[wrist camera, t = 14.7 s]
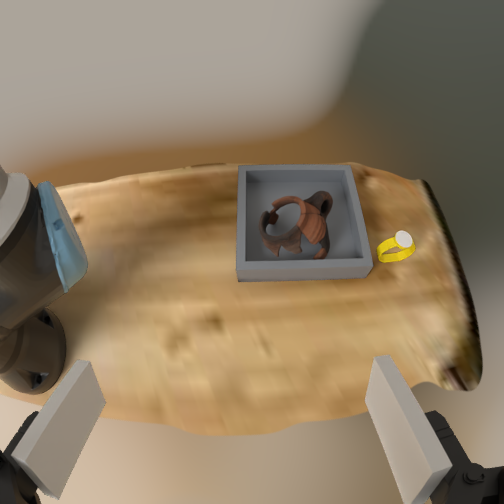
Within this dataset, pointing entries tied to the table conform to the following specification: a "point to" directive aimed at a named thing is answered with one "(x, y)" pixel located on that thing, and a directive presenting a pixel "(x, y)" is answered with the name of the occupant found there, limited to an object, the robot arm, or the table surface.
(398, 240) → the watch
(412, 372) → the table surface
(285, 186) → the tray
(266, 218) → the broken clay jug
